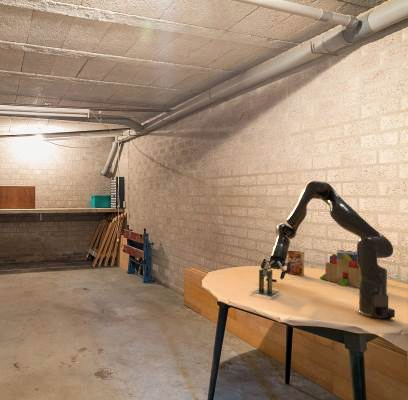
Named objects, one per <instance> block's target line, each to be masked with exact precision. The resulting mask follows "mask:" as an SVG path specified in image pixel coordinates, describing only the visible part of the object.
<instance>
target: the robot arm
mask: <svg viewBox="0 0 408 400" xmlns="http://www.w3.org/2000/svg"><path fill="white" fill-rule="evenodd" d="M313 199H314V200H321V201H323V202H324V203H325V204H326V205H328V207H329V215H330V217H331V218H332V220H333V221H334V222H335V223H336V224H337V225H338V226H339V227H340V228H342V229H344V230H345V231H347V232H349V233H351V234H353V235H355V236H357V237H358V238H359V240H358V241H357V244H356V251H357V261H358V267H359V270H360V280H359V288H358V291H359V292H358V297H359V298H358V313H359V314H360V315H361V316H364V317H369V318H372V319H387V320H391V319H393V318H395V316H396V309H393V308H391V307H389V295H388V293H387V292H388V270H387V269H386V268H385V267H383V266H381V265H379V264H378V259H386V258H387V259H388V258H390V257H391V256H392V255H393V253H394V246H393V244H392V242H391V241H390V240H389V238H387V237H386V236H384V234H382V233H381V232H379V230H377V229H375V228H374V227H373V226H372V225H370V224H369V222H367V221H366V220H365V219H364V218H363V217H362V216H360V214H359V213H358V212H357V211H356V210H355V208H354V209H353V208H352V206H350V204H348V203H347V202H346V201H345V200H344V199H343V197H341V196H340V195H339V193H338V192H337V191H336V190H335V188H334V187H333V186H332V185H331V184H330V183H329V182H326V181H319V180H310V181H308V182H307V184H306V185H305V186H304V189H303V190H302V192H301V194H300V196H299V199H298V201H297V202H296V205H295V207H294V209H293V210H292V211H291V213H290V214H289V216H288V217H287V218H286V223H287V224H286V223H283V222H282V223H279V224H278V225H276V229H275V236H276V240H275V244H274V246H273V247H272V251H271V255H270V257H269V260H268V259H266V258H264V259H263V260H262V262H261V265H260V269H264V270H268V271H269V270H280V271H281V272H280V276H279V278H280V280H283V279H285V277H286V274H287V275H290V269H291V264H290V262H288V261H287V262H286V260H287V259H288V250H289V248H290V244H291V240H293V239H295V238H296V236H297V232H298V230H299V227H300V225H301V224H302V222H303V221H304V220H305V219H306V216H307V213H308V204H309V203H310V201H312V200H313ZM284 267H286V269H285V268H284ZM264 278H267V277H266V276H264Z"/></svg>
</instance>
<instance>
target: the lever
mask: <svg viewBox="0 0 408 400" xmlns="http://www.w3.org/2000/svg"><path fill="white" fill-rule="evenodd" d="M267 271H269V270H263V273H262V274H263V276H266V277H265V281H266V282H267ZM277 282H278V280H277V279H274V278H272V283H277Z"/></svg>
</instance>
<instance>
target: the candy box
mask: <svg viewBox="0 0 408 400" xmlns="http://www.w3.org/2000/svg"><path fill="white" fill-rule="evenodd" d="M288 262H290V264H291V269H290V273H289V275H290V274H291V275H297V276H305V251H302V250H293V249H288V255H287V263H288Z"/></svg>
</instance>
